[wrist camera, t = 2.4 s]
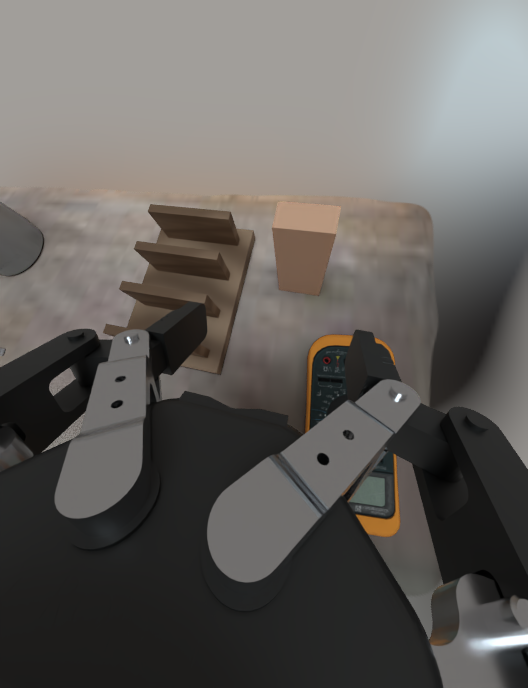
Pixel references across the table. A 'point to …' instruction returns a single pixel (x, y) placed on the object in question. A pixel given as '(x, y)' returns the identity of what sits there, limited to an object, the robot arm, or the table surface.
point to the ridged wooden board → (192, 276)
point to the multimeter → (326, 396)
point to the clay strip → (303, 244)
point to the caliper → (2, 351)
